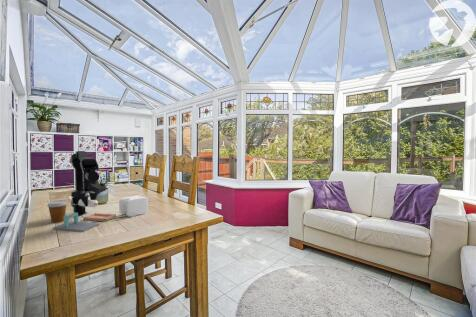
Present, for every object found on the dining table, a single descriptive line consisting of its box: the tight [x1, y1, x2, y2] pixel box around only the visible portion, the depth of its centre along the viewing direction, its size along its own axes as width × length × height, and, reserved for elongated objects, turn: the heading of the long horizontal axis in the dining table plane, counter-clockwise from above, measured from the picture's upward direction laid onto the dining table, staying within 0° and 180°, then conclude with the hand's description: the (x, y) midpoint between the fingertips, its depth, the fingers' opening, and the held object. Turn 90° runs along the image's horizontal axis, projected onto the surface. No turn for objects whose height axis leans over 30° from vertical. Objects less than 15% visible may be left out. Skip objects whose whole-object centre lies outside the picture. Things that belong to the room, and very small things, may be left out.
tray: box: [83, 212, 117, 223], centre depth 148 cm, size 16×9×2 cm, turn 78°
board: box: [52, 220, 100, 233], centre depth 132 cm, size 20×11×1 cm, turn 78°
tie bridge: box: [63, 212, 79, 227], centre depth 133 cm, size 2×7×6 cm, turn 168°
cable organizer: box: [118, 194, 149, 218], centre depth 157 cm, size 15×11×12 cm
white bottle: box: [78, 199, 99, 208], centre depth 137 cm, size 11×4×4 cm, turn 77°
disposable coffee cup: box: [47, 200, 68, 224], centre depth 142 cm, size 10×10×12 cm
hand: (89, 205), depth 137 cm, fingers closed on white bottle, 4 cm apart
